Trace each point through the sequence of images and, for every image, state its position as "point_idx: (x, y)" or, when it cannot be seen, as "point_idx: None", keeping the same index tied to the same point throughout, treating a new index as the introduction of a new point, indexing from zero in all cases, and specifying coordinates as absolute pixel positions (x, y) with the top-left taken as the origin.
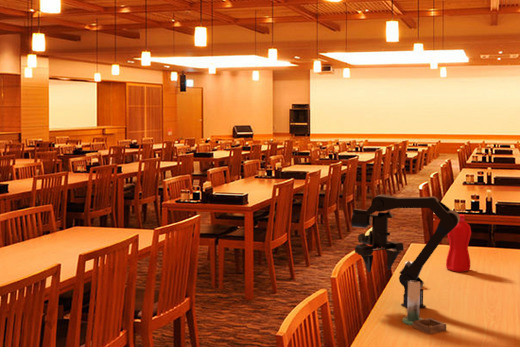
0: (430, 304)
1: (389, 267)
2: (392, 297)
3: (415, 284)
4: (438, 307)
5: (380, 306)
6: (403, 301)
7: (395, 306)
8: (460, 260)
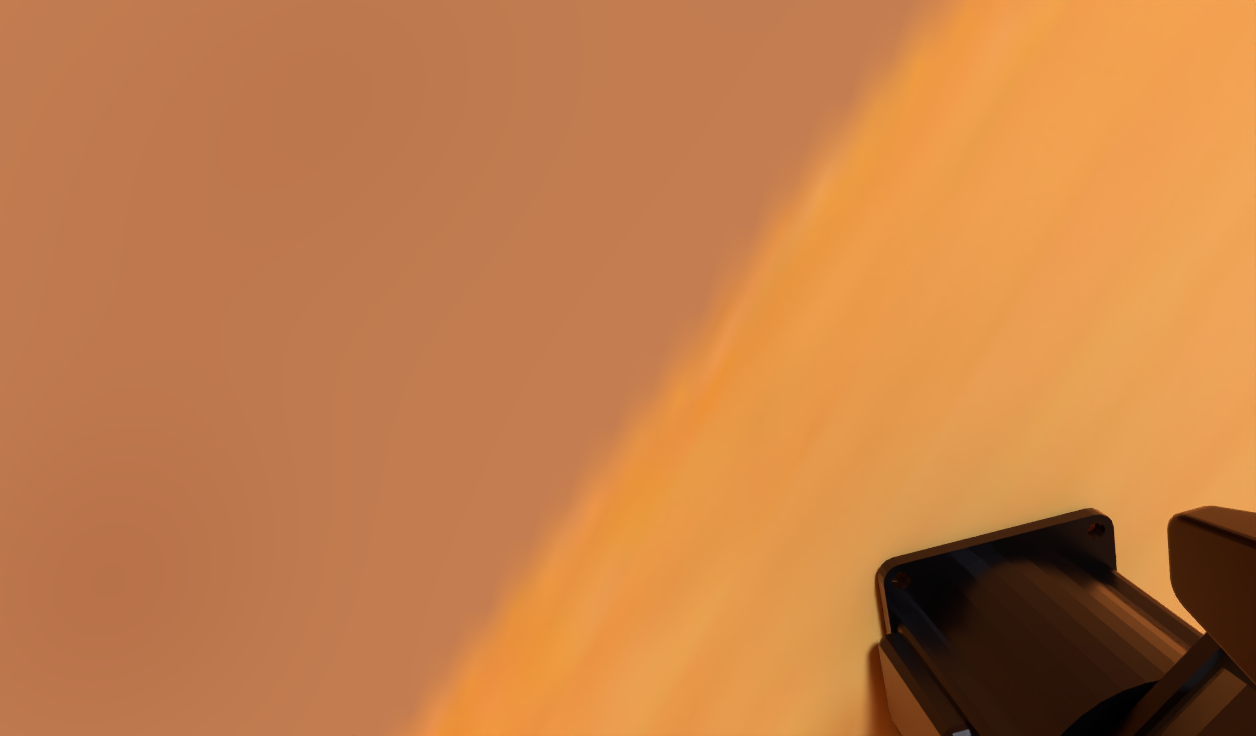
0: None
1: (1231, 651)
2: (978, 176)
3: None
4: None
5: (595, 539)
6: (897, 671)
7: (787, 579)
8: None
